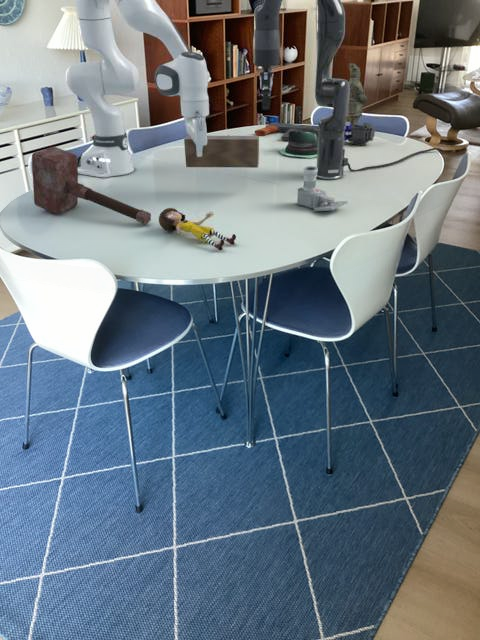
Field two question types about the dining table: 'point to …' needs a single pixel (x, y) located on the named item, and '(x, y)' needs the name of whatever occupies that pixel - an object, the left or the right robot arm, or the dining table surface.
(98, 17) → the left robot arm
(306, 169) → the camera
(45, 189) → the sledgehammer
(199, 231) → the figurine
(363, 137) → the toy
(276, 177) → the dining table surface
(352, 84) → the statue
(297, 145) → the green brimmed hat
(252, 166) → the bar
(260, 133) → the submachine gun
